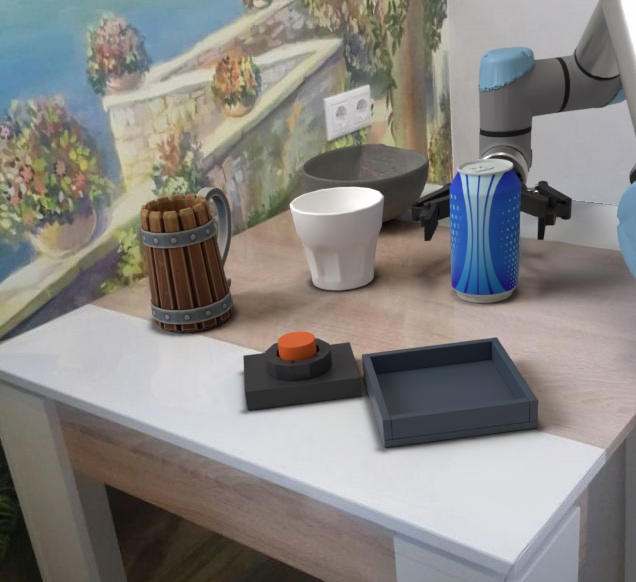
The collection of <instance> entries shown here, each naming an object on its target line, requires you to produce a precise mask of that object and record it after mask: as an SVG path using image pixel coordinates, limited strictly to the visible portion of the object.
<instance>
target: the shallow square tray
mask: <svg viewBox="0 0 636 582" xmlns="http://www.w3.org/2000/svg"><path fill="white" fill-rule="evenodd" d="M361 362H362V375H363V382H364V385H365V388H366V391H367V394H368V398H369V401H370V404H371V407H372V411H373V415H374V417H375V421H376V425H377V427H378V431H379V434H380V439H381V441H382V444H383V447H384V448H393V447H400V446H409V445H416V444H422V443H423V444H424V443H431V442H437V441H438V442H439V441H447V440H454V439H463V438H469V437H477V436H485V435H492V434H499V433H508V432H516V431H523V430H532V429H537V428H538V419H539V417H538V416H539V400H538V398H537V396H536V394H535V393H534V391H533V390H532V389H531V387H530V386H529V384H528V382H527V380H526V379H525V377H524V376H523V374H522V373H521V372H520V371H519V369H518V367H517V366H516V364H515V362H514V361H513V360H512V358H511V357H510V355H509V354H508V352H507V350H506V349H505V347H504V346H503V344H502V343H501V341H500V340H499V338H498V337H495V336H494V337H489V338H488V337H487V338H481V339H473V340H464V341H457V342H448V343H441V344H434V345H433V344H432V345H425V346H417V347H416V346H415V347H407V348H401V349H393V350H392V349H391V350H385V351H378V352H370V353H363V354H361Z"/></svg>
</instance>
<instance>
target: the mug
mask: <svg viewBox="0 0 636 582" xmlns="http://www.w3.org/2000/svg"><path fill="white" fill-rule="evenodd" d="M211 199H212V201H213V203H214V206H215V209H216V214H217V228H218V230H217V229H216V224H215V220H214V215H212V213H211V209H210V205H209V202H210V200H211ZM140 220H141V225H140V232H141V240H142V243H143V244H144V251H145V259H146V267H147V268H146V269H147V274H148V283H149V291H150V309H151V310H150V311H151V316H152V318H153V320H154V323H155V324H156V325H157V326H158V327H159V328H161V329H163V330H165V331H168V332H173V333H192V332H193V333H194V332H199V331H204V330H208V329H211V328H214V327H216V326H219V325H221V324H222V323H224V322H225V321H226V320H228V319H229V317H230V316H231V314H232V313H233V312H234V302H233V297H232V293H231V287H232V278H231V277H226V273H225V268H224V267H225V265H226V261H227V258H228V256H229V251H230V248H231V244H232V243H231V242H232V234H233V233H232V229H233V228H232V227H233V226H232V225H233V224H232V212H231V206H230V201H229V200H228V197H227V195H226V194H225V192H224V191H223V190H222V189H221V188H220V187H212V186H211V187H209V186H205V187H203V188H201V189H200V190H199V191H198V192H197V193H196V194H195V193H187V194H186V195H185V196H184V194H182V193H179V194H173V195H171V197H170V198H169V197H168V196H167V195H166V196H161V197H160V196H159V197H158V198H157V199H156V200H155V199H152V200H149V201H146V203H145V204H143V205H141V207H140ZM216 233H217V235H216Z"/></svg>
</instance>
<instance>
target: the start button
mask: <svg viewBox="0 0 636 582" xmlns="http://www.w3.org/2000/svg"><path fill="white" fill-rule="evenodd" d="M315 338H316V336H315V335H314V333H312V332H309V331H303V330H302V331H300V330H299V331H292V332H289V333H285V334H283V335H280V336H279V337H278V339H277V343H278V349H279V356H280V358H281V359H284V360H292V361H295V360H303V359H307V358H309V357H312V356H315V355H316V353H317V349H316V340H315Z"/></svg>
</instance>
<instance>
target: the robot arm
mask: <svg viewBox="0 0 636 582" xmlns="http://www.w3.org/2000/svg"><path fill="white" fill-rule="evenodd" d="M586 24H587V25H586V26H585V28H584V30H583V32H582V35H581V36H580V39H579V40H578V43H577V45H576V47H575V49H574V50H573V53H572V54H570V55H564V56H556V57H549V58H539V59H535V54H534V51H533V49H532V48H530V47H526V46H511V47H500V48H494V49H491V50H488V51H486V52H484V54H482V56H481V59H480V65H479V73H478V74H479V75H478V76H479V78H478V87H477V88H478V102H479V103H478V104H479V105H478V106H479V107H478V108H479V134H478V146H479V147H478V149H479V150H478V153H479V154H478V156H479V157H478V159H503V160H508V161H510V162H512V163H513V170H514V172H515V173H516V175H517V177H518V178H519V180H520V182H521V203H520V213H524V214H527V215H530V216H532V217H535V218H537V239H536V240H537V241H544V240H545V234H546V229H547V228H546V227H549V226H550V227H553V226H555V225H556V222H557V221H556V220H557V218H559V219H560V220H564V221H568V220H571V219H572V210H573V209H572V208H573V207H572V206H573V199H572V198H571V197H570V196H568V195H566V194H564V193H563V192H561V191H559V190H557V189H555V188H554V187H552V186H551V185H549V182H548V181H547V180H539V181H538V182H537V183H536V184H534V187H533V186H532V187H528V186H527V181H528V177H529V173H530V169H531V167H532V166H533V165H532V164H533V149H532V130H533V118H534V117H539V116H545V115H551V114H552V115H553V114H559V113H566V112H574V111H575V112H576V111H581V110H582V111H583V110H590V109H603V108H607V106H612V105H617V104H621V103H622V102H624V101H625V102H626V106H627V108H628V112H629V116H630V120H631V124H632V128H633V132H634V137H636V0H598V1H597V3H596V5H595V8H594V10H593V11H592V13H591V16H590V18H589V20H588V22H587V23H586ZM628 180H629V183H630V185H629V186H627V187H626V189H625V190H624V191H623V193H622V195H621V196H620V199H619V202H618V205H617V210H616V217H617V219H618V221H619V223H618V224H617V225H616V233H617V240H618V245H619V248H620V252H621V255H622V257H623V260H624V262H625V264H626V266H627V268H628V270H629V271H630V273H631V275H632V276H633V278H634V279H635V280H636V162H635V164H634V165H633V166H632V168H631V169H630V171H629V175H628ZM451 183H452V182H447V183H444V185H442V186H441V188H438V189H436V190H433V191H432V192H430V193H428V194H425V195H422V196H420V198H418V199H416V200H414V201H412V202H411V208H410V216H411V222H413V223H417V222H419V227H420V228H423V238H424V239H423V240H424V242H430V241H432V239H433V237H434V234H435V232H436V231H437V228H438V226H439V221H441V220H444V219H447V218H450V185H451Z"/></svg>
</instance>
